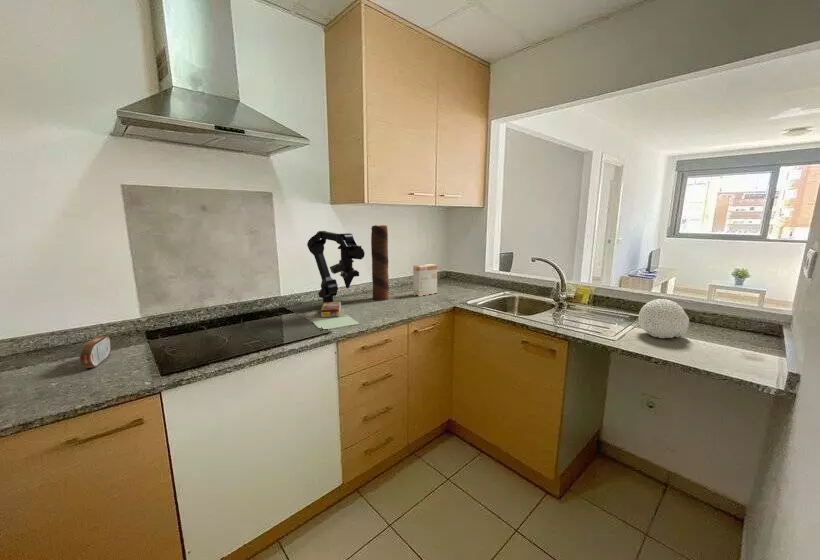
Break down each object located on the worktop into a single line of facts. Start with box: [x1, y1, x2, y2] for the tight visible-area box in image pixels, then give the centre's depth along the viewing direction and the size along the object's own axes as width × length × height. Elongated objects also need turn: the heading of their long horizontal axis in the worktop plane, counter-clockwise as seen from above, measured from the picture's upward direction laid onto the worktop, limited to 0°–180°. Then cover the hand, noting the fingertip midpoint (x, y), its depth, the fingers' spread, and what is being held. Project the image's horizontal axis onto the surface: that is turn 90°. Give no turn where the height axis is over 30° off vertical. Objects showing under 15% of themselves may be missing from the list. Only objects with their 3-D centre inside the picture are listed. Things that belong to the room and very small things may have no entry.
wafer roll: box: [370, 224, 390, 301], centre depth 198 cm, size 10×11×45 cm
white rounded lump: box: [637, 298, 690, 339], centre depth 137 cm, size 20×18×16 cm
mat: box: [312, 315, 360, 331], centre depth 153 cm, size 14×18×1 cm
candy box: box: [320, 301, 342, 318], centre depth 170 cm, size 9×4×15 cm
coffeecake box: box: [412, 263, 438, 297], centre depth 213 cm, size 15×7×20 cm, turn 124°
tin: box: [79, 335, 112, 369], centre depth 109 cm, size 15×3×8 cm, turn 22°
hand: (347, 288), depth 170 cm, fingers closed
